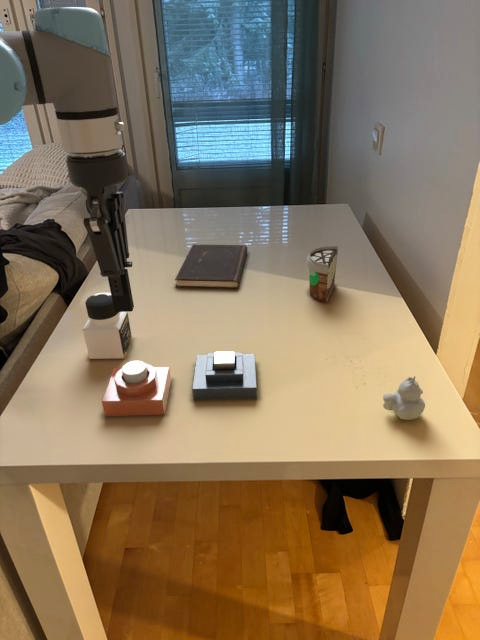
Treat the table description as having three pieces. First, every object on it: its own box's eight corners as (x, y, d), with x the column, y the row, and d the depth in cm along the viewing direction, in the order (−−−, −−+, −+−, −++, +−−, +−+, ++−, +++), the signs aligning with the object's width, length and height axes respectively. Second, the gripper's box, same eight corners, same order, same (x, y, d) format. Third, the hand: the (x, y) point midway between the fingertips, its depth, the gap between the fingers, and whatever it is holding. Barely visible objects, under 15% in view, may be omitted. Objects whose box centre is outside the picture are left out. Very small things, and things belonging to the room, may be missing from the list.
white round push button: (121, 384, 78) (119, 374, 76) (126, 370, 81) (124, 360, 80) (145, 384, 77) (143, 374, 76) (149, 369, 81) (147, 359, 80)
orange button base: (104, 416, 78) (99, 392, 75) (116, 382, 85) (112, 360, 83) (164, 414, 78) (161, 391, 75) (171, 380, 85) (168, 358, 83)
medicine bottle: (125, 359, 92) (114, 306, 85) (89, 359, 92) (76, 306, 86) (132, 339, 98) (123, 288, 92) (99, 339, 98) (87, 288, 92)
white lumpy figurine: (426, 427, 73) (435, 387, 69) (383, 424, 74) (390, 385, 70) (418, 404, 78) (427, 365, 74) (378, 402, 79) (384, 364, 75)
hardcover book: (175, 287, 118) (174, 279, 116) (193, 251, 137) (192, 244, 136) (238, 289, 116) (238, 280, 115) (247, 252, 135) (247, 245, 134)
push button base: (193, 399, 81) (191, 381, 79) (197, 365, 89) (196, 348, 87) (256, 398, 80) (256, 380, 78) (254, 363, 89) (254, 346, 87)
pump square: (214, 371, 81) (213, 363, 81) (215, 359, 85) (214, 351, 84) (234, 371, 81) (234, 363, 81) (234, 359, 85) (234, 351, 84)
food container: (311, 279, 119) (313, 242, 114) (335, 282, 117) (338, 245, 112) (299, 301, 109) (300, 262, 104) (325, 305, 108) (327, 265, 102)
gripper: (111, 161, 55) (141, 331, 67) (133, 140, 66) (154, 289, 78) (48, 164, 55) (89, 332, 67) (80, 142, 66) (110, 290, 78)
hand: (124, 309), depth 72 cm, fingers closed
